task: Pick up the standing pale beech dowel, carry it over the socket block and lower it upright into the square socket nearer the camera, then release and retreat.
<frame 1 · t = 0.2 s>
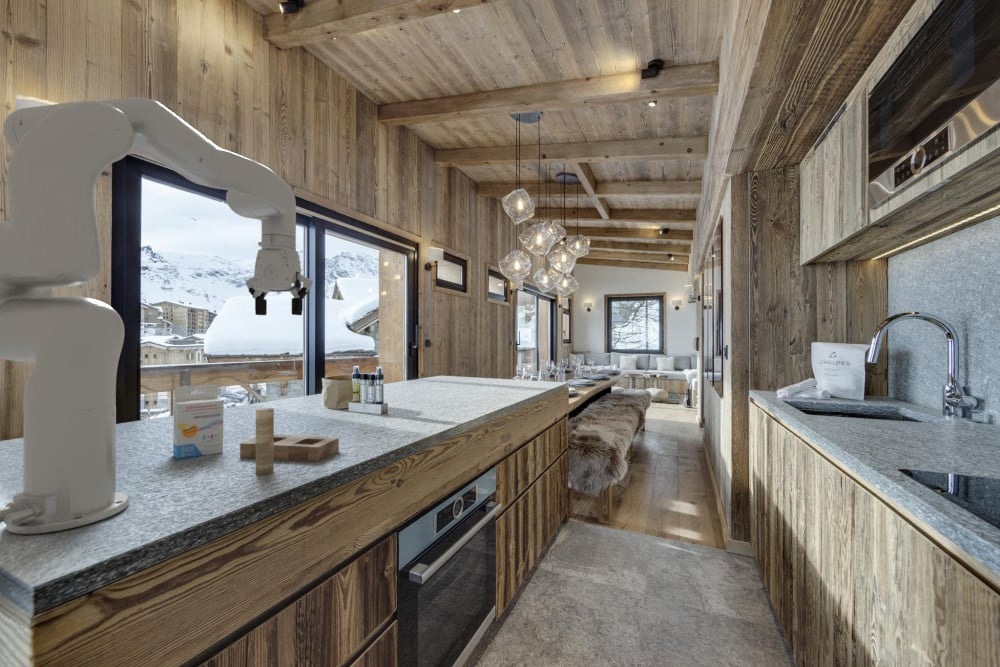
hand: (278, 315, 107), 31 cm above the counter, fingers open, 9 cm apart
socket block: (290, 454, 95), on the counter
peg: (264, 472, 82), on the counter
ink box: (198, 454, 95), on the counter
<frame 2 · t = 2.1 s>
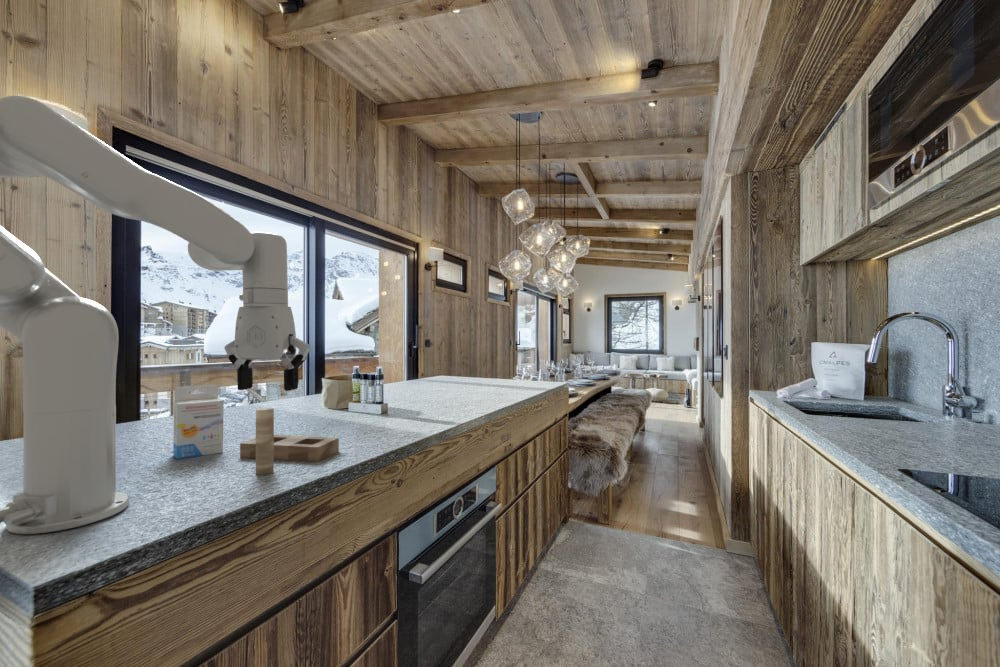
hand: (268, 389, 83), 16 cm above the counter, fingers open, 9 cm apart
nothing on the counter moved.
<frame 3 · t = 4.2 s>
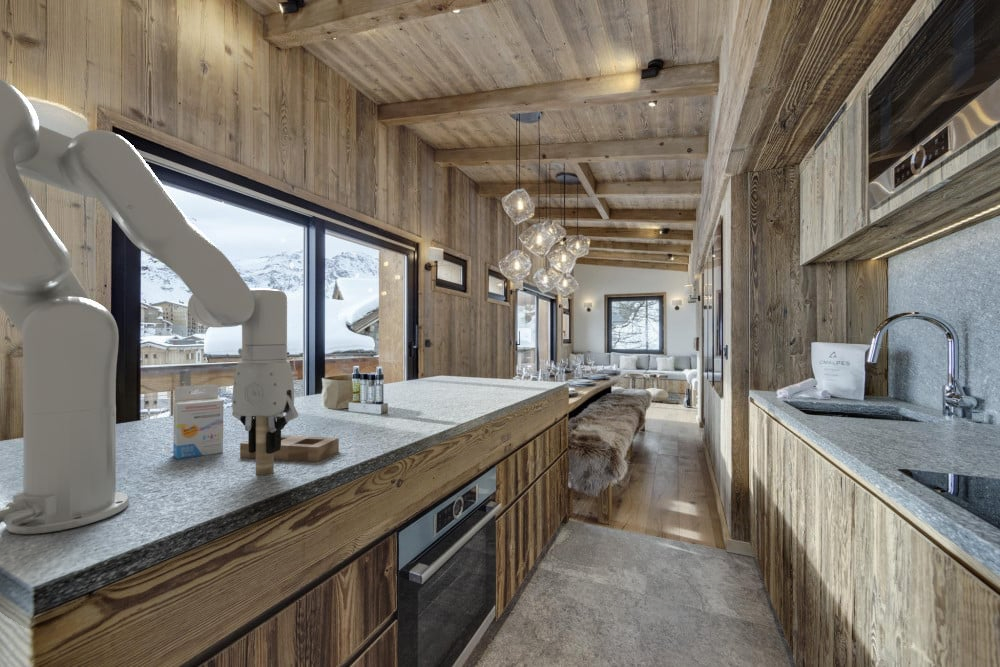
hand: (264, 450, 82), 4 cm above the counter, fingers closed on peg, 3 cm apart
peg: (264, 472, 82), on the counter, touching gripper
everything else where it was.
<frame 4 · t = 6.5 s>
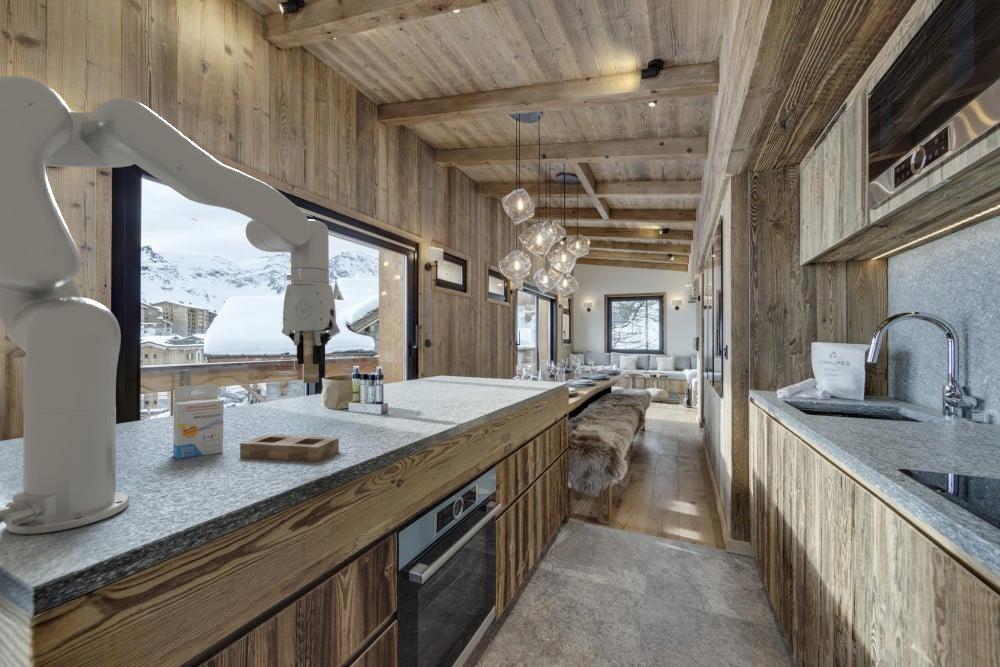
hand: (311, 363, 94), 20 cm above the counter, fingers closed on peg, 3 cm apart
peg: (311, 382, 94), point 16 cm above the counter, touching gripper
everything else where it was.
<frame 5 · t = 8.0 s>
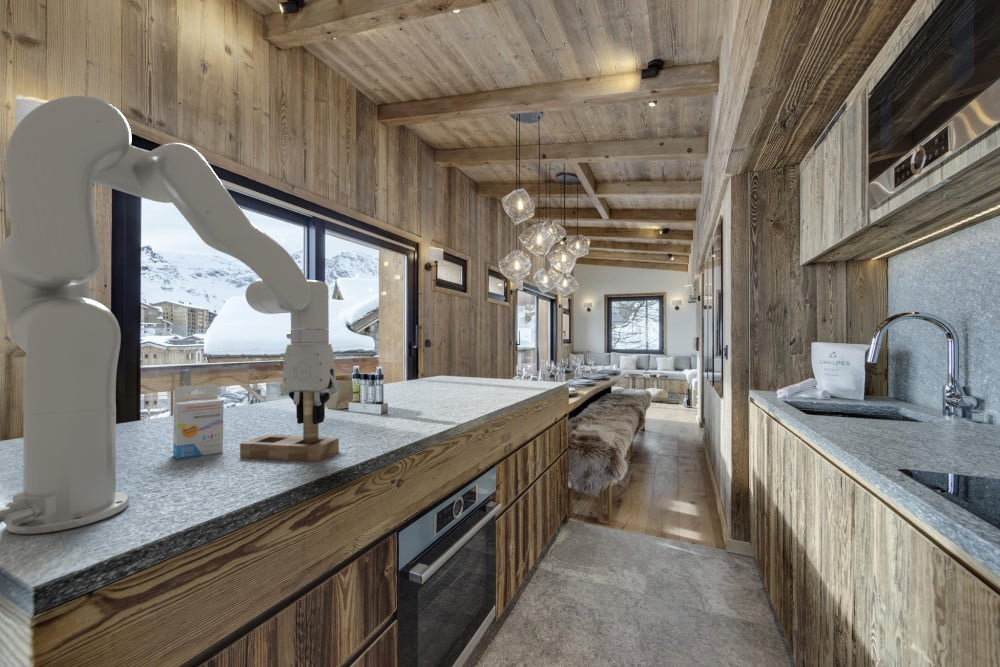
hand: (310, 421, 94), 7 cm above the counter, fingers closed on peg, 3 cm apart
peg: (311, 441, 94), point 3 cm above the counter, touching gripper
everything else where it was.
when the fingers open (5 cm above the counter, at t = 9.1 s): peg stays where it is, resting in socket block.
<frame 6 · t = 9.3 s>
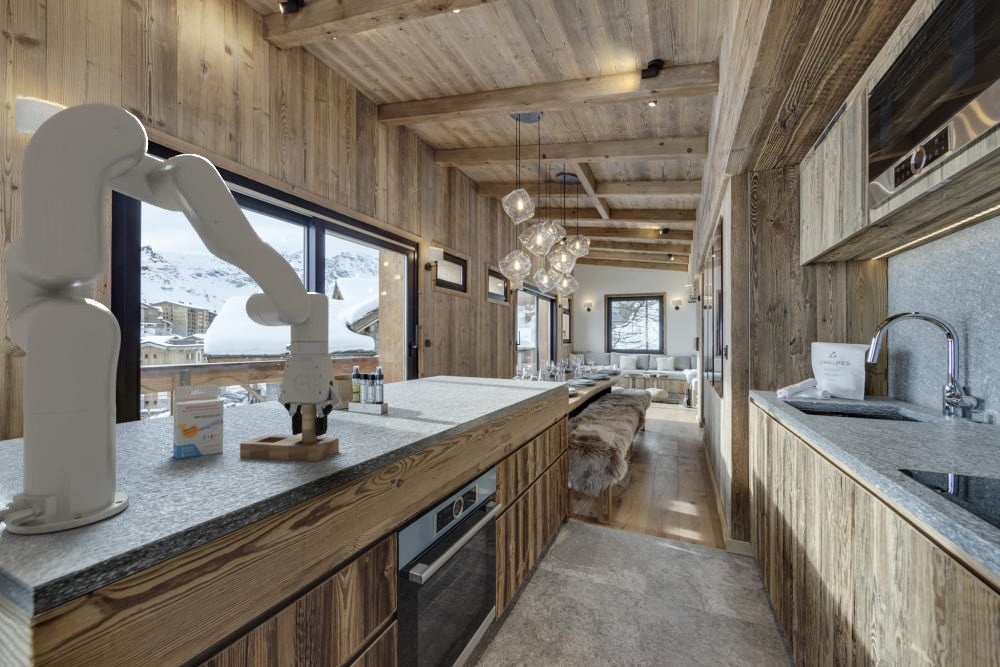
hand: (309, 433, 94), 5 cm above the counter, fingers open, 4 cm apart
peg: (309, 455, 94), resting in socket block
everything else where it was.
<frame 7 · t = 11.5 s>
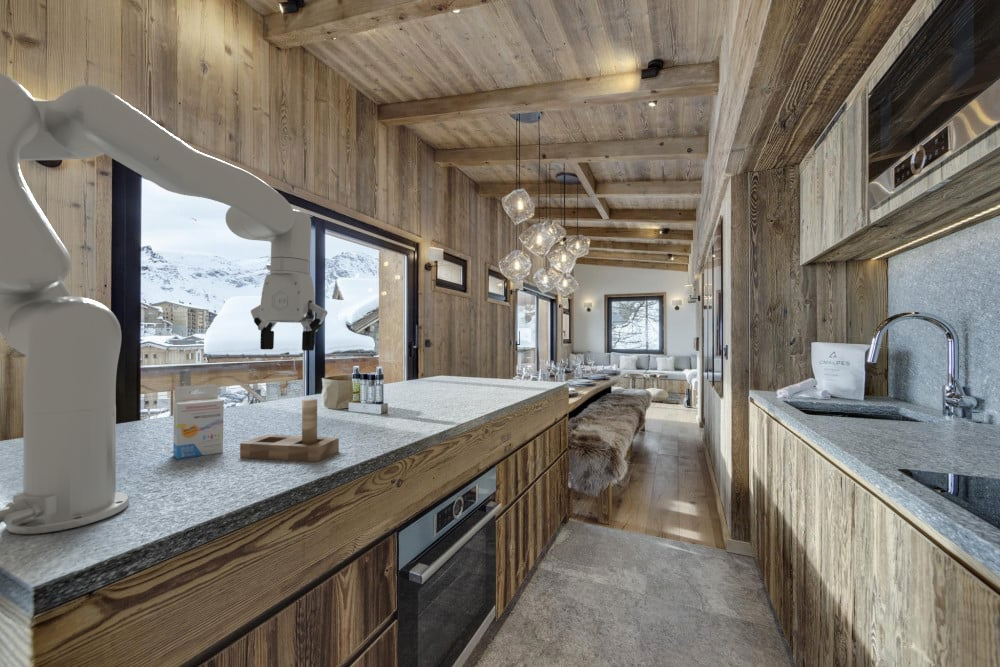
hand: (287, 349, 92), 23 cm above the counter, fingers open, 9 cm apart
nothing on the counter moved.
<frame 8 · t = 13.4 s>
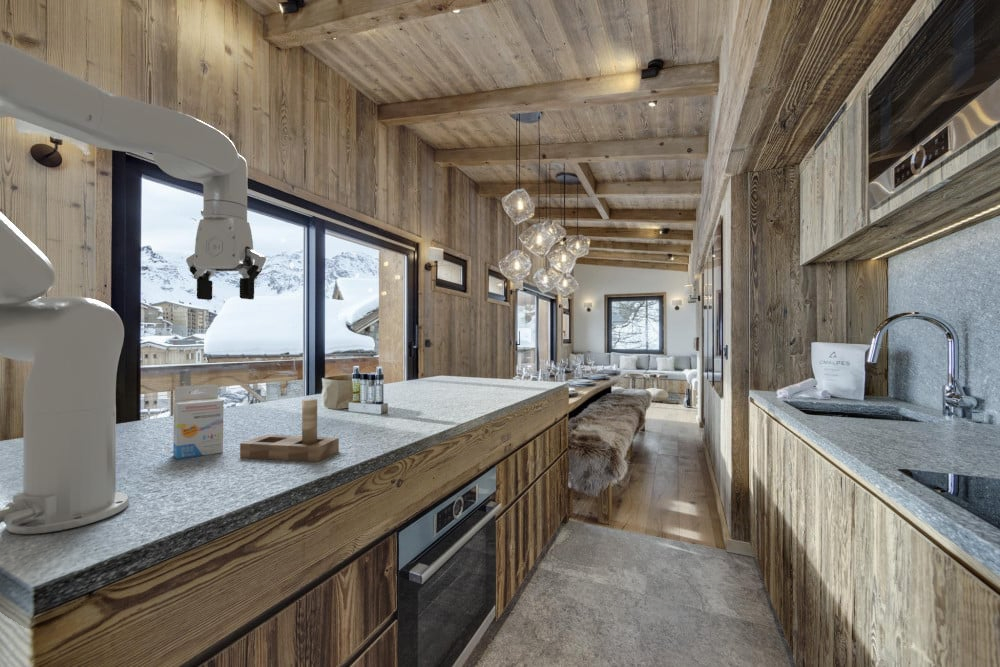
hand: (225, 299, 88), 33 cm above the counter, fingers open, 9 cm apart
nothing on the counter moved.
at the end: peg 0.0 cm from the target spot on the socket block, point 0.0 cm above the socket block's base; peg tilted 0°; the gripper is holding nothing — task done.
